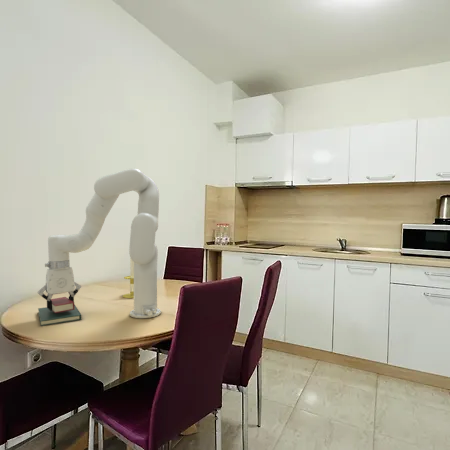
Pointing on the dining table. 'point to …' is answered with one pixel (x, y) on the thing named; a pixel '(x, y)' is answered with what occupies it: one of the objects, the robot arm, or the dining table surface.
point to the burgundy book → (62, 304)
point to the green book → (58, 316)
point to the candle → (131, 277)
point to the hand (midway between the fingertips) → (60, 307)
